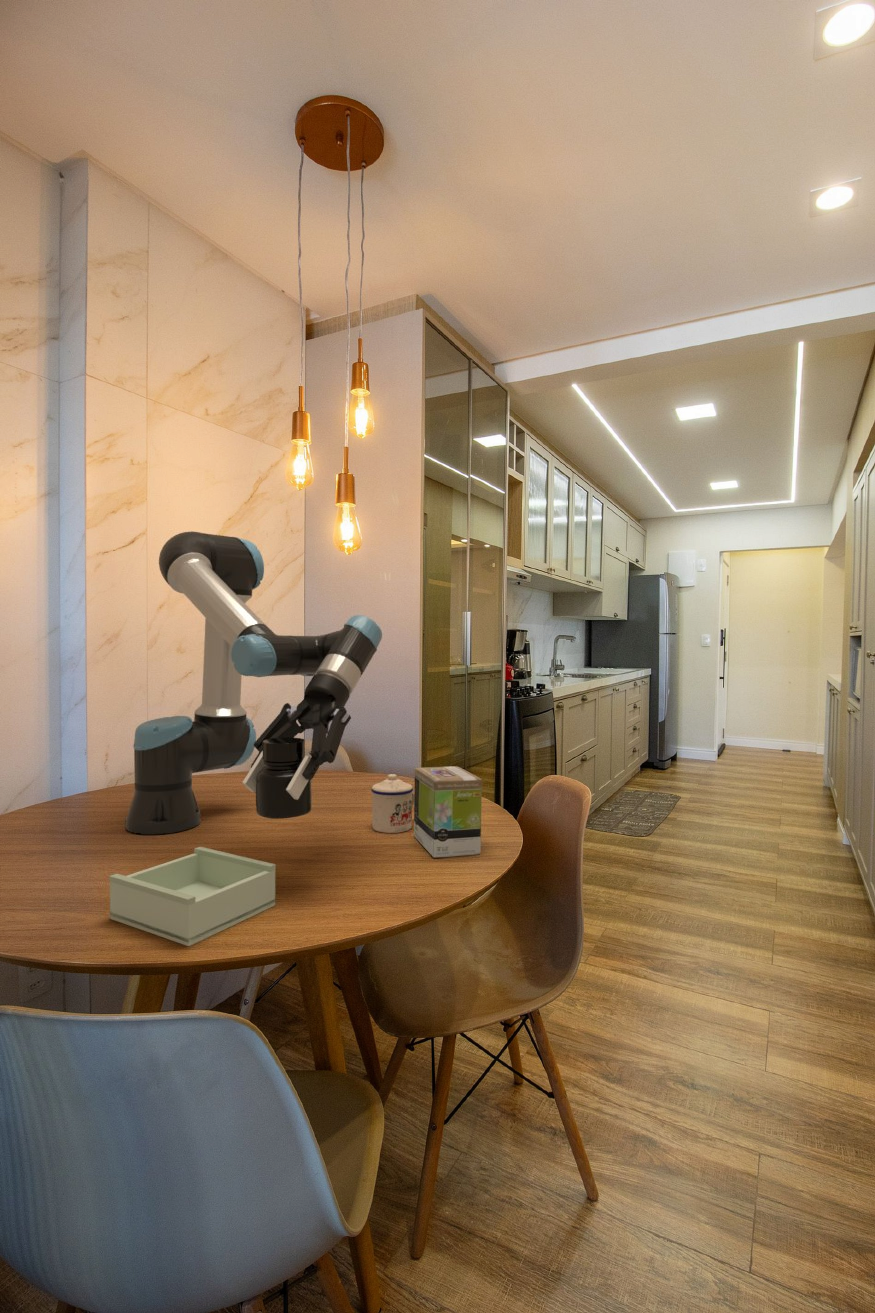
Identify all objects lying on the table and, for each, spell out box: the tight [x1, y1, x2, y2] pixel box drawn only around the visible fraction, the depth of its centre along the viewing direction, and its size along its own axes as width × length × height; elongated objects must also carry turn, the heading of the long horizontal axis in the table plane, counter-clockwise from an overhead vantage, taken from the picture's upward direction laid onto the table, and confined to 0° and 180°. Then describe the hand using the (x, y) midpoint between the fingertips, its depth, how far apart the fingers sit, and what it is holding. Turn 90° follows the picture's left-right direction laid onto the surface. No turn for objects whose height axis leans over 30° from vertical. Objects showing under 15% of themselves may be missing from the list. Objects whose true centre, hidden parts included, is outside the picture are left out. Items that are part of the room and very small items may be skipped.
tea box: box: [413, 765, 483, 859], centre depth 132 cm, size 15×10×15 cm, turn 17°
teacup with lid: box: [371, 773, 415, 834], centre depth 145 cm, size 12×9×12 cm
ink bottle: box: [255, 737, 312, 820], centre depth 109 cm, size 10×9×12 cm
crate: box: [108, 846, 277, 947], centre depth 99 cm, size 17×16×6 cm
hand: (269, 791), depth 106 cm, fingers closed on ink bottle, 9 cm apart
